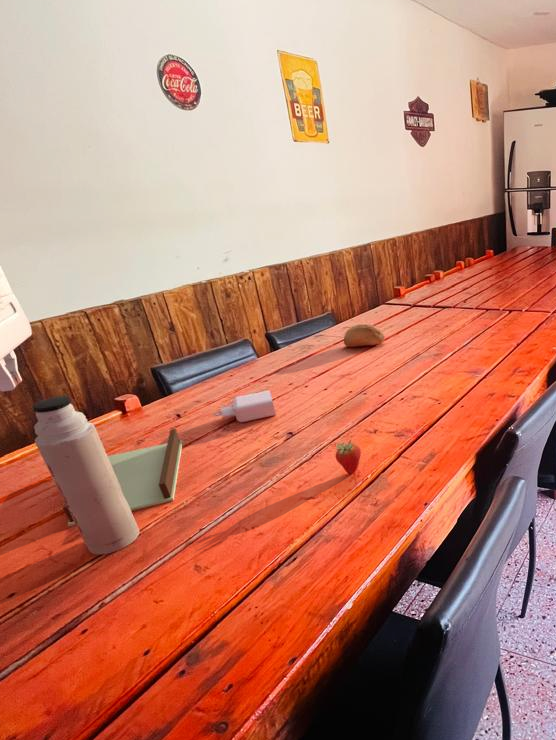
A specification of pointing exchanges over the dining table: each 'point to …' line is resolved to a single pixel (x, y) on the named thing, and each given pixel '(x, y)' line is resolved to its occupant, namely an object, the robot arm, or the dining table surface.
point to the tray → (146, 474)
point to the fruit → (348, 456)
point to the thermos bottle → (84, 476)
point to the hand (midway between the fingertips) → (11, 387)
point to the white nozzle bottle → (249, 407)
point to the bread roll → (363, 335)
